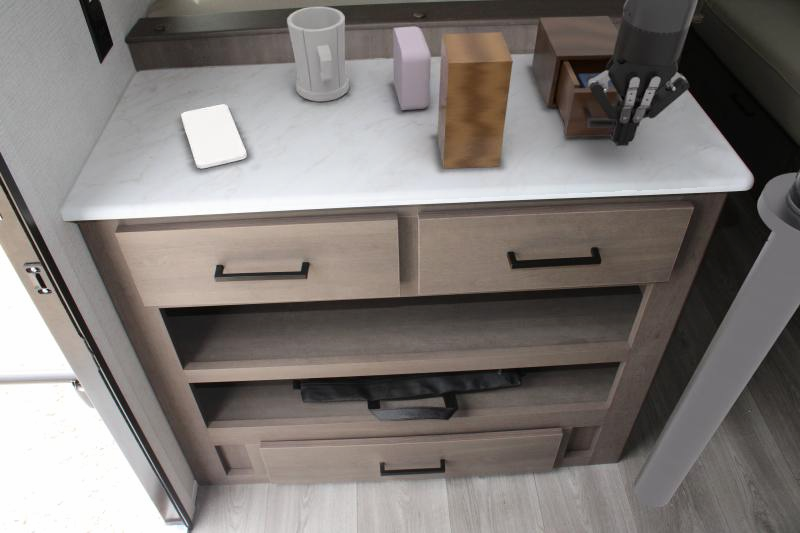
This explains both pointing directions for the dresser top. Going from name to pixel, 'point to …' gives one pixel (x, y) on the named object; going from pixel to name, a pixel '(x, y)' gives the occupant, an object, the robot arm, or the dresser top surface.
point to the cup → (319, 52)
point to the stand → (473, 99)
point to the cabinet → (569, 47)
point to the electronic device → (411, 68)
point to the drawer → (582, 99)
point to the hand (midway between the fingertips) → (620, 142)
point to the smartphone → (213, 136)
